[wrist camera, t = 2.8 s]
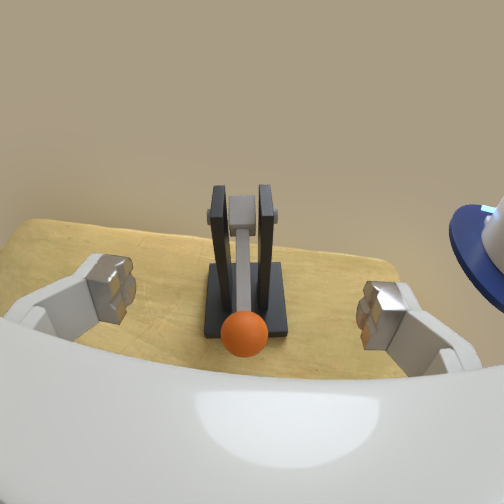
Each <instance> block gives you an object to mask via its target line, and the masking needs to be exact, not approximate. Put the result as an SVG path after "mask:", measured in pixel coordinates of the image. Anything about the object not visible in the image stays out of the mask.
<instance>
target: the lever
mask: <svg viewBox="0 0 504 504" xmlns="http://www.w3.org/2000/svg"><path fill="white" fill-rule="evenodd" d="M229 230H230V236H231V237H232V236H236V308H237V312H235V313H233V314H231V315H230V316H229V317H228V318H227V319H226V320H225V321H224V323H223V325H222V328H221V340H222V343H223V345H224V347H225V348H226V349H227V350H228V351H229V352H230V353H232V354H233V355H235V356H238V357H251V356H254V355H256V354H257V353H259V352H260V351H261V350H262V349H263V348H264V346H265V345H266V343H267V339H268V329H267V326H266V324H265V322H264V320H263V319H262V318H261V317H260V316H259V315H257V314H256V313H253V312H251V287H250V246H249V236H255V231H256V215H255V196H254V195H240V196H229Z"/></svg>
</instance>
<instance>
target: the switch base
mask: <svg viewBox="0 0 504 504" xmlns="http://www.w3.org/2000/svg"><path fill="white" fill-rule="evenodd" d="M277 222H278V211H277V208H275V207H274V208H273V204H272V196H271V189H270V185H259V223H258V263H250V287H251V312H253V313H256V314H257V315H259V316H260V317H261V318H262V319H263V320H264V322H265V324H266V326H267V329H268V337H285V336H287V334H288V327H287V317H286V308H285V298H284V289H283V280H282V272H281V263H280V262H271V260H272V244H273V225H274V224H277ZM207 223H208V225H211V232H212V239H213V246H214V253H215V260H216V263H213V264H210V265H209V276H208V288H207V301H206V314H205V328H204V334H205V337H206V338H221V328H222V325H223V323H224V321H225V320H226V319H227V318H228V317H229V316H230V315H231V314H233V313H235V312H237V308H236V263H231V256H230V244H229V232H228V220H227V208H226V195H225V186H214V188H213V195H212V203H211V209H208V210H207Z"/></svg>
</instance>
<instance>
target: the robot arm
mask: <svg viewBox="0 0 504 504" xmlns="http://www.w3.org/2000/svg"><path fill="white" fill-rule="evenodd" d="M481 210H483V211H487V212H491V213H493V214H492V216H487V217H486V218H485V220H484V222H485V228H484V229H483V231H482V235H481V238H482V243H483V246H484V248H485V251H486V253H487V254H488V256H489V258H490V259H491V261H492V262H493V263H494V264H495V266H496V267H497V268H498V269H499V270H500V271H501V272H502V273H503V274H504V197H503V198H502V200H501V202H500V203H499V205H498V206H497V208H492V207H488V206H484V205H483V206H482V208H481ZM132 269H133V265H132V260H131V259H130V258H129V257H122V256H115V255H108V254H100V253H92V254H91V255H90V256H89V257H88V258H87V259H86V260H85V261H84V262H83V264H82V265H81V266H80V267H79V268H78V269H77V270H76V271H75V273H74V274H73V275H72V276H67V277H64V278H62V279H60V280H58V281H55V282H53V283H51V284H49V285H47V286H45V287H42V288H40V289H38V290H36V291H34V292H32V293H30V294H27V295H25V296H23V297H21V298H19V299H17V301H16V302H15V303H14V304H13V305H12V306H11V308H10V309H9V310H8V311H7V312H6V314H5V315H4V316H3V317H0V504H504V364H502V365H497V366H492V367H486V368H483V366H482V364H481V362H480V360H479V358H478V356H477V354H476V352H475V350H474V348H473V346H472V345H471V344H469V343H468V342H467V341H465V340H464V339H463V338H462V337H460V336H459V335H457V334H456V333H455V332H454V331H452V330H451V329H450V328H448V327H447V326H446V325H444V324H443V323H442V322H440V321H439V320H437V319H436V318H435V317H433V316H432V315H431V314H429V313H428V312H426V311H422V309H421V307H420V305H419V303H418V301H417V300H416V298H415V296H414V294H413V292H412V290H411V289H410V287H409V285H408V284H407V283H405V282H379V281H367V282H366V284H365V286H364V289H363V292H364V295H365V297H363V298H362V299H361V300H360V301H359V304H358V307H357V313H356V320H357V325H358V327H359V328H360V329H361V330H362V333H361V340H362V343H363V347H364V350H383V351H386V352H387V353H388V354H389V356H390V357H391V358H392V359H393V360H394V361H395V362H396V363H397V364H398V366H399V367H400V368H401V369H402V370H403V371H404V372H405V374H406V375H407V376H408V377H405V378H390V379H367V380H317V379H292V378H276V377H262V376H251V375H241V374H231V373H223V372H215V371H207V370H200V369H193V368H187V367H181V366H175V365H169V364H163V363H158V362H153V361H148V360H143V359H138V358H134V357H129V356H125V355H120V354H116V353H112V352H108V351H104V350H100V349H96V348H92V347H89V346H85V345H81V344H78V343H74V342H73V341H74V340H75V339H77V338H78V337H80V336H81V335H82V334H84V333H85V332H86V331H88V330H89V329H91V328H92V327H93V326H95V325H96V324H97V323H99V321H102V322H107V323H112V324H118V325H120V323H121V322H122V320H123V318H124V316H125V314H126V313H127V311H126V307H127V306H129V305H130V304H132V302H133V300H134V298H135V294H136V281H135V278H134V277H133V276H132V274H131V271H132Z"/></svg>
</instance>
